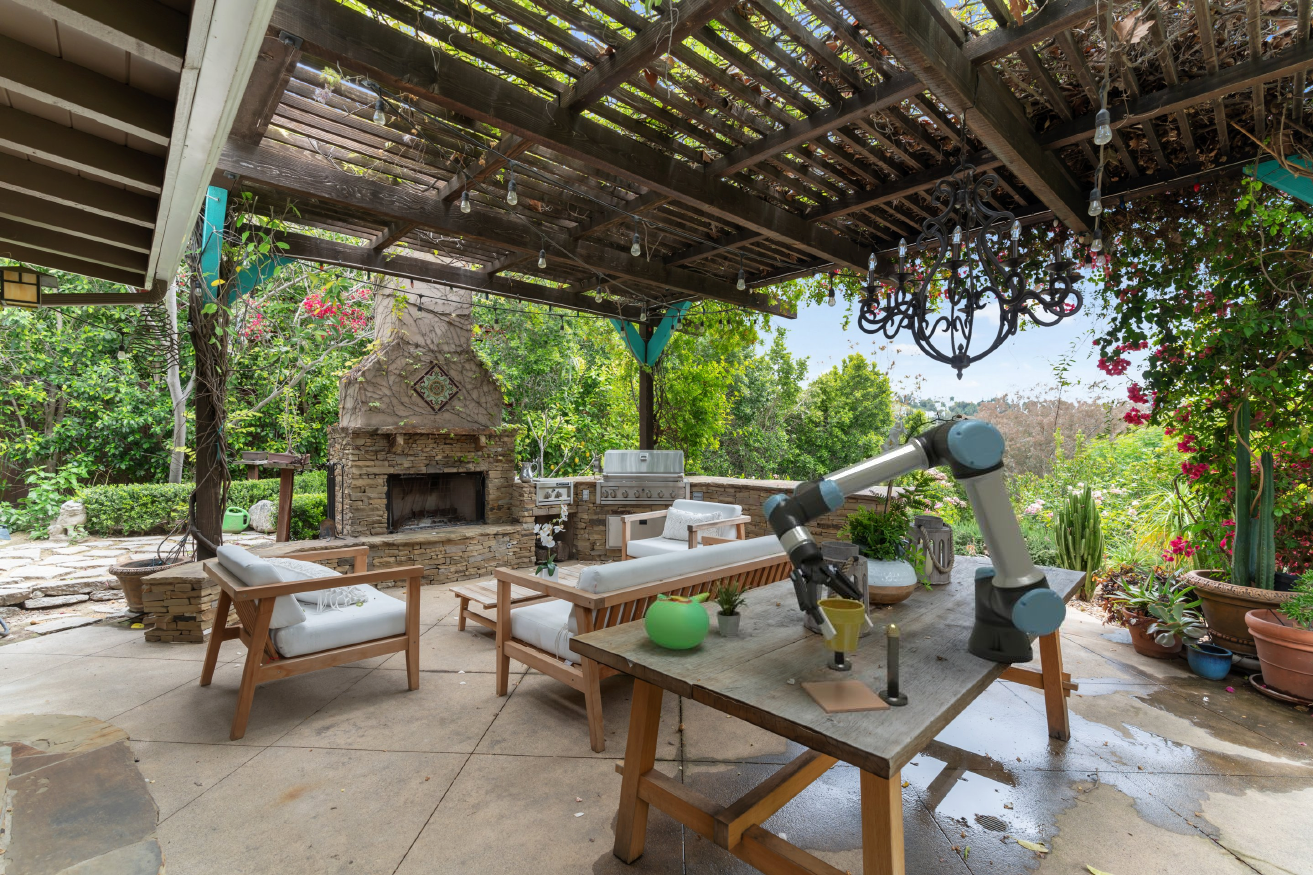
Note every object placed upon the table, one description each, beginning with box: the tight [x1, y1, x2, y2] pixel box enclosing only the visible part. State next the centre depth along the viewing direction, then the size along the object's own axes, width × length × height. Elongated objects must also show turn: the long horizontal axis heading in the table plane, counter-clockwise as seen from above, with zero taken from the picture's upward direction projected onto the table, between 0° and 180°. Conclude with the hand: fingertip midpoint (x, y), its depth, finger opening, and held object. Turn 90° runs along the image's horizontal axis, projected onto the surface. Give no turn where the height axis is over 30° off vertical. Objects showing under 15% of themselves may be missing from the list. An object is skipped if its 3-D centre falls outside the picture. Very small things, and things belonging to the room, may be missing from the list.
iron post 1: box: [826, 651, 853, 672], centre depth 149 cm, size 6×6×17 cm
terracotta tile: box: [801, 679, 891, 714], centre depth 131 cm, size 14×14×1 cm
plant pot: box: [817, 597, 866, 653], centre depth 132 cm, size 10×10×10 cm
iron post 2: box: [877, 622, 909, 707], centre depth 129 cm, size 6×6×17 cm
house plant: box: [707, 578, 754, 637], centre depth 173 cm, size 14×14×16 cm
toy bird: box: [644, 592, 711, 650], centre depth 163 cm, size 18×17×15 cm
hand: (850, 632), depth 129 cm, fingers closed on plant pot, 10 cm apart
